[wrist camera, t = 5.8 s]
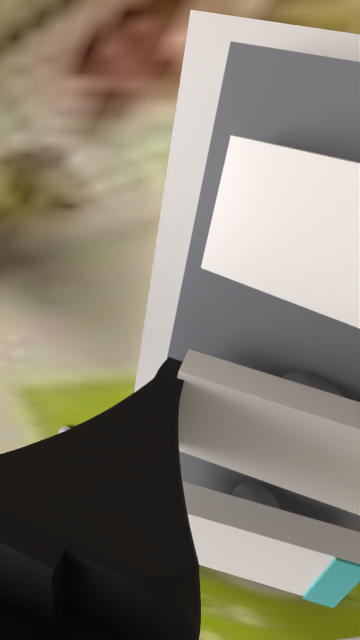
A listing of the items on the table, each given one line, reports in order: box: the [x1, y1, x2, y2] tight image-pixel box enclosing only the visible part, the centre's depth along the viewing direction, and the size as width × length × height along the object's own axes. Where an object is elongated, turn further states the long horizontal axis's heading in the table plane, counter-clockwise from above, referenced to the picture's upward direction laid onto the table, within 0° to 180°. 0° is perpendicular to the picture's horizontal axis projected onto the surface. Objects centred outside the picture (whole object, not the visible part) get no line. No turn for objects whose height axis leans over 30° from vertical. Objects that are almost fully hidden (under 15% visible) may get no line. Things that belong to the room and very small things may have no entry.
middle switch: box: [177, 349, 360, 515], centre depth 11 cm, size 3×8×2 cm, turn 79°
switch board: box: [134, 10, 360, 532], centre depth 13 cm, size 21×18×4 cm
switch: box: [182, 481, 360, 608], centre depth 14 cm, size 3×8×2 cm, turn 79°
